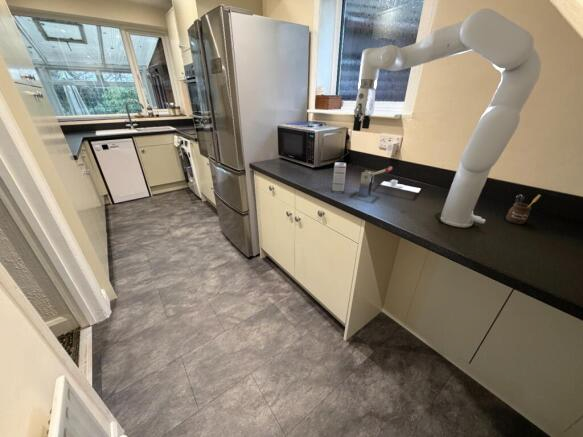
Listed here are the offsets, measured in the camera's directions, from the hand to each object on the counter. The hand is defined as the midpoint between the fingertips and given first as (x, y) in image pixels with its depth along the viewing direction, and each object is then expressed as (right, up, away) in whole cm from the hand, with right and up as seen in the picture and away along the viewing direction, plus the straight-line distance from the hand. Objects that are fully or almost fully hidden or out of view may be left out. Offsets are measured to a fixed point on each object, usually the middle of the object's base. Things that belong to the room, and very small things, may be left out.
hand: (361, 129), depth 104 cm
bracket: (+5, -29, +11) cm, 32 cm away
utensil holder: (+60, -41, -9) cm, 73 cm away
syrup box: (-7, -26, +18) cm, 32 cm away
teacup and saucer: (+26, -25, +21) cm, 41 cm away
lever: (+9, -20, +3) cm, 22 cm away
